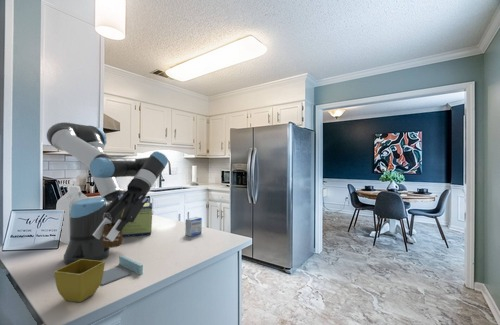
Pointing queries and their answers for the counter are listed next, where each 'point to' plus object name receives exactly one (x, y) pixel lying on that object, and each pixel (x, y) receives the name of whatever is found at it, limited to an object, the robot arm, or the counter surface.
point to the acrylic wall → (131, 264)
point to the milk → (68, 209)
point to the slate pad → (113, 275)
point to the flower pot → (79, 279)
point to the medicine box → (193, 226)
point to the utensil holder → (108, 227)
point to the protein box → (140, 223)
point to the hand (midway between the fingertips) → (102, 238)
